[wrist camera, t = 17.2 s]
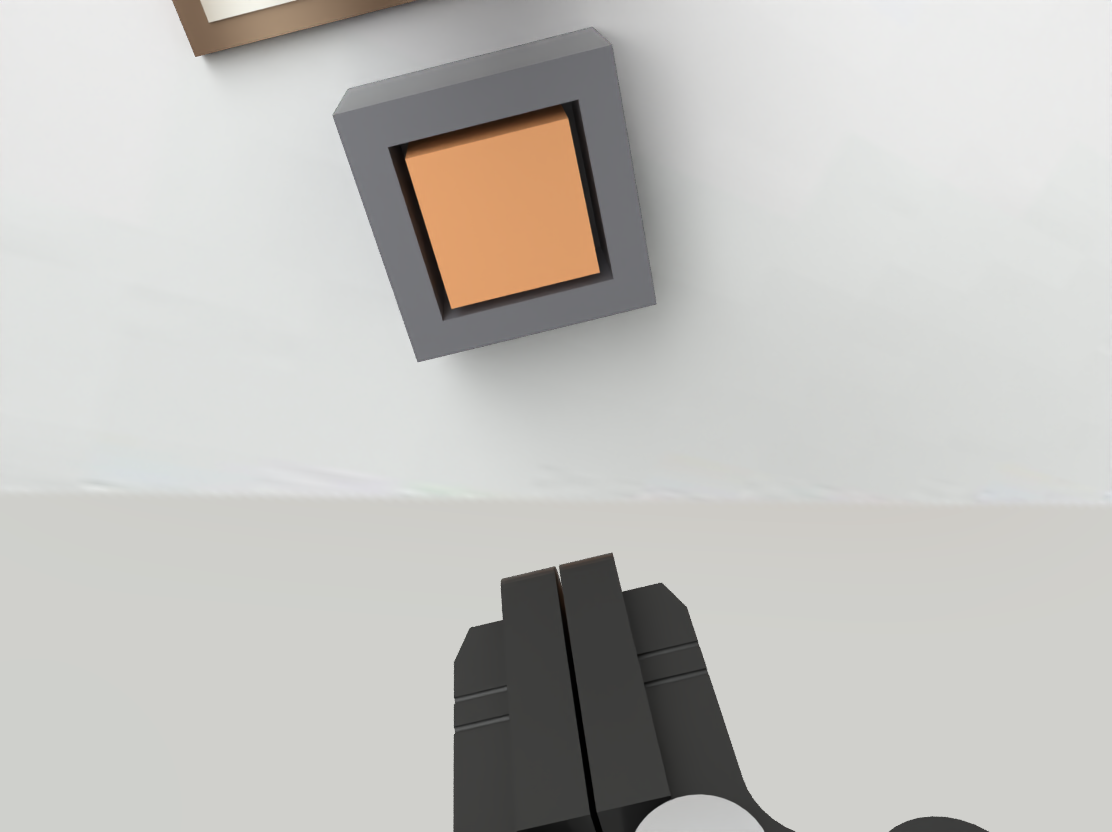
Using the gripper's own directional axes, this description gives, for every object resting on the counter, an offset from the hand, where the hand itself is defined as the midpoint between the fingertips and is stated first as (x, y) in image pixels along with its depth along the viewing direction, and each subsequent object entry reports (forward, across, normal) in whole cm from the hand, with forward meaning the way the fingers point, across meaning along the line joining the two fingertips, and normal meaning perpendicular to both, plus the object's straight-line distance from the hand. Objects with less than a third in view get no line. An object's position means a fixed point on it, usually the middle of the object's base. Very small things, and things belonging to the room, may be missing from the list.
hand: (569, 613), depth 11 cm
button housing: (+21, 0, 0) cm, 21 cm away
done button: (+20, 0, 0) cm, 20 cm away
